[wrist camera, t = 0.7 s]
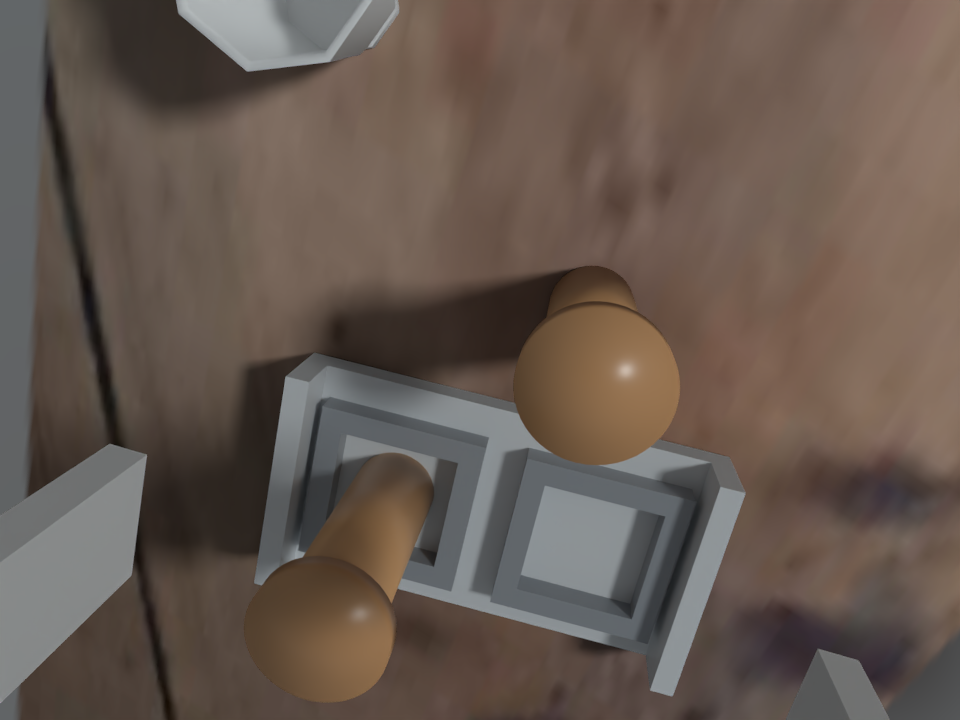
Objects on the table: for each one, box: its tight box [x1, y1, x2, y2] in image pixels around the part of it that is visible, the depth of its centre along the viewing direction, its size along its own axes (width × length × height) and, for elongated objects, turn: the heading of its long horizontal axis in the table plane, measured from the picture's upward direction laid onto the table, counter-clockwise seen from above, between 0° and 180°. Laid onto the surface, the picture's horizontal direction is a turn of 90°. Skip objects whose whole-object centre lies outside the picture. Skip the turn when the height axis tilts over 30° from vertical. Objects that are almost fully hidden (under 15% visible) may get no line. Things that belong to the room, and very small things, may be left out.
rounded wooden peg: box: [244, 452, 434, 702], centre depth 30 cm, size 5×5×11 cm
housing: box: [254, 353, 746, 696], centre depth 35 cm, size 10×19×4 cm, turn 77°
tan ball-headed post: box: [513, 266, 680, 465], centre depth 28 cm, size 5×5×11 cm
